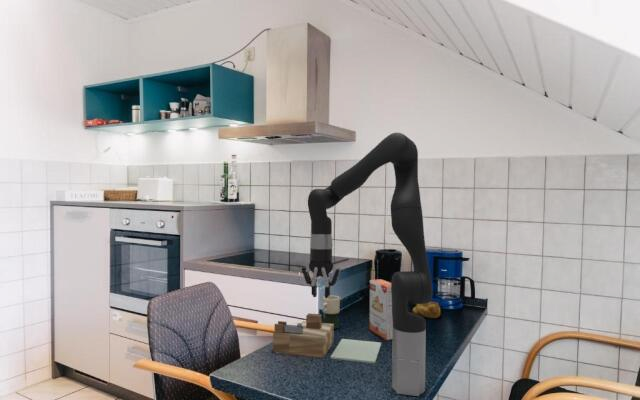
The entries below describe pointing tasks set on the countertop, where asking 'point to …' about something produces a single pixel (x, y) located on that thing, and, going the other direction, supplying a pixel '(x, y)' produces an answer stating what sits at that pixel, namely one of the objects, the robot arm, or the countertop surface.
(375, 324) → the cracker box
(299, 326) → the sliding bolt
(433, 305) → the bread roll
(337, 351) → the mat
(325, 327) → the lid
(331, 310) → the character mug
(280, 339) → the wooden box
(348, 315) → the countertop surface
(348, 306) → the countertop surface
